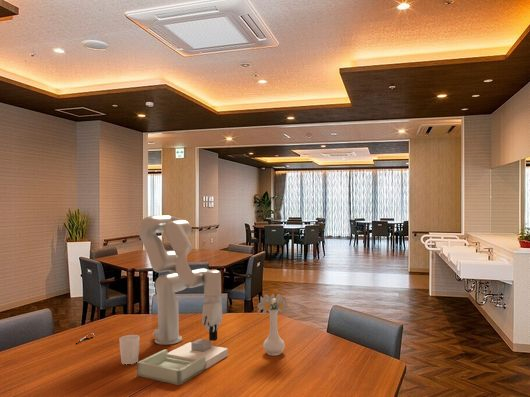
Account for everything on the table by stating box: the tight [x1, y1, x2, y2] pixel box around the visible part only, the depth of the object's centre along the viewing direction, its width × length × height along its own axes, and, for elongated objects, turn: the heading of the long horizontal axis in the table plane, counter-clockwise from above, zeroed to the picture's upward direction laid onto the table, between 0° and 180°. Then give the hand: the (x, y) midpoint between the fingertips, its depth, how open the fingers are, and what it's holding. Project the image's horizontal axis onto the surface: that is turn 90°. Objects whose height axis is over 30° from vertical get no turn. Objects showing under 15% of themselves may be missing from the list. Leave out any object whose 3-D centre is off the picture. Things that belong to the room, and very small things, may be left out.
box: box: [136, 349, 207, 386], centre depth 163 cm, size 20×16×5 cm
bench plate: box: [167, 341, 229, 370], centre depth 177 cm, size 20×16×3 cm
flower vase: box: [257, 293, 288, 357], centre depth 183 cm, size 13×18×25 cm
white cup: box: [118, 334, 140, 366], centre depth 174 cm, size 8×8×10 cm
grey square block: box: [191, 338, 212, 352], centre depth 180 cm, size 6×6×3 cm
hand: (213, 339), depth 188 cm, fingers closed
